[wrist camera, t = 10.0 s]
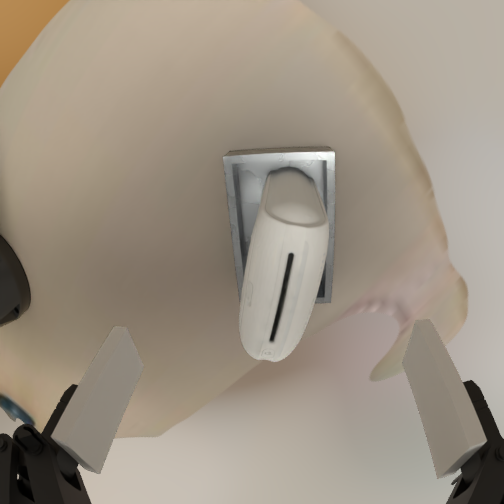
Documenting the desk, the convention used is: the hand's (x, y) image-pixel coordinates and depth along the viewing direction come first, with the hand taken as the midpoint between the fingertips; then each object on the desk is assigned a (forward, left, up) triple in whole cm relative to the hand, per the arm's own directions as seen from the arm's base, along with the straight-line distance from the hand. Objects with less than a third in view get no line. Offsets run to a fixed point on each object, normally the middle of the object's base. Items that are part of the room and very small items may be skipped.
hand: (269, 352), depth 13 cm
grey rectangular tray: (0, 0, -16) cm, 16 cm away
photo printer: (0, 0, -15) cm, 15 cm away
